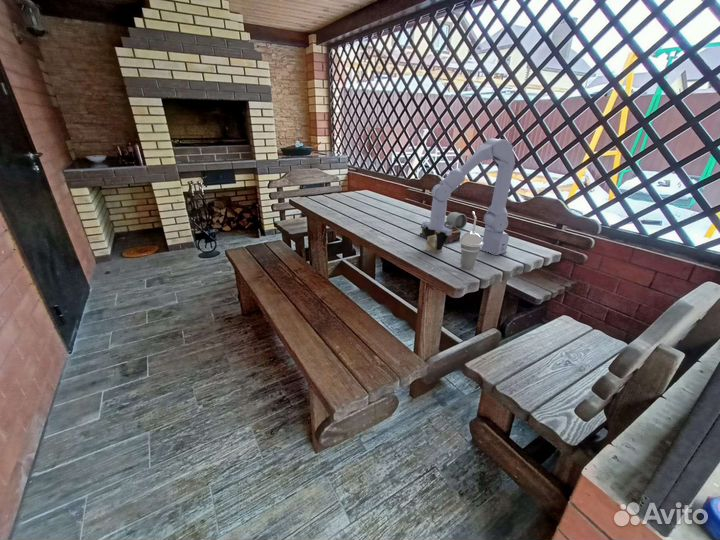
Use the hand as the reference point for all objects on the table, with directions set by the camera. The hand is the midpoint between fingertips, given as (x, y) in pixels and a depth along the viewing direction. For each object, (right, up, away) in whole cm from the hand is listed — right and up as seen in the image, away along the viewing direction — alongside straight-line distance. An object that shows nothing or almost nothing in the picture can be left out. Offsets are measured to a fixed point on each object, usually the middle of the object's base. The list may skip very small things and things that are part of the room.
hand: (434, 247), depth 137 cm
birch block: (0, -1, +1) cm, 2 cm away
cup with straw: (+9, -9, -15) cm, 19 cm away
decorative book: (+6, +5, +16) cm, 18 cm away
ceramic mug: (+17, +12, +31) cm, 37 cm away
